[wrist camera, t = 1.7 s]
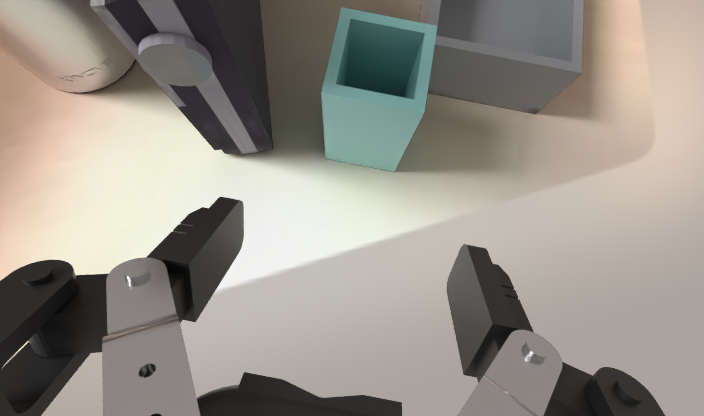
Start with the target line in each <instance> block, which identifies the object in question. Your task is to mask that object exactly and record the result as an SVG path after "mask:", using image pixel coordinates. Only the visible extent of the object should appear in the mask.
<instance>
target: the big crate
mask: <svg viewBox="0 0 704 416" xmlns="http://www.w3.org/2000/svg"><path fill="white" fill-rule="evenodd" d="M583 12H584V0H422V3H421V9H420V15H419V21H418V22H420V23H425V24H430V25H435V26H437V33H436V39H435V46H434V53H433V59H432V66H431V73H430V79H429V86H428V93H432V94H437V95H442V96H447V97H452V98H457V99H462V100H467V101H472V102H477V103H483V104H488V105H493V106H498V107H503V108H508V109H513V110H518V111H523V112H528V113H533V114H536V113H537V112H538V111H539V110H540V109H541V108H543V107H544V106H545V105H546V104H547V103H548V102H549V101H551V100H552V99H553V98H554V97H555V96H556V95H558V94H559V93H560V92H561V91H562V90H563V89H564V88H566V87H567V86H568V85H569V84H570V83H571V82H572V81H574V80H575V79H576V78H577V77H578V76H579V75H580V74H582V52H583Z"/></svg>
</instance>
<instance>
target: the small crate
mask: <svg viewBox="0 0 704 416" xmlns="http://www.w3.org/2000/svg"><path fill="white" fill-rule="evenodd" d="M436 33H437V26H435V25H430V24H425V23H420V22H415V21H410V20H405V19H400V18H395V17H390V16H385V15H380V14H375V13H370V12H364V11H359V10H354V9H349V8H344V7H341V10H340V15H339V19H338V23H337V27H336V31H335V36H334V40H333V44H332V48H331V53H330V57H329V61H328V65H327V70H326V74H325V78H324V82H323V86H322V91H321V99H322V113H323V128H324V142H325V157H326V159H331V160H336V161H341V162H346V163H351V164H356V165H361V166H366V167H372V168H377V169H382V170H387V171H392V172H394V171H395V169H396V167H397V166H398V164H399V162H400V160H401V158H402V156H403V154H404V152H405V150H406V148H407V146H408V144H409V142H410V140H411V138H412V136H413V134H414V132H415V130H416V128H417V126H418V124H419V123H420V121H421V119H422V117H423V115H424V113H425V106H426V99H427V93H428V86H429V79H430V73H431V66H432V59H433V53H434V46H435V39H436Z"/></svg>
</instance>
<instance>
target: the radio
mask: <svg viewBox="0 0 704 416" xmlns="http://www.w3.org/2000/svg"><path fill="white" fill-rule="evenodd" d="M90 7H91V8H92V9H93V10H94V11H95V12H96V13H97V15H98V16H99V17H100V18H101V19H102V20H103V22H104V23H105V24H106V25H107V26H108V27H109V28H110V30H111V31H112V32H113V33H114V34H115V35H116V37H117V38H118V39H119V40H120V41H121V42H122V44H123V45H124V46H125V47H126V48H127V49H128V50H129V52H130V53H131V54H132V55H133V56H134V57H135V59H136V60H137V61H138V62H139V64H140V66H141V67H142V69H143V70H144V71H145V72H146V73H147V74H148V75H149V76H151V77H152V78H153V79H154V80H155V82H156V83H157V84H158V85H159V86H160V87H161V89H162V90H163V91H164V92H165V93H166V94H167V95H168V97H169V98H170V99H171V100H172V101H173V102H174V104H175V105H176V106H177V107H178V108H179V109H180V110H181V112H182V113H183V114H184V115H185V116H186V117H187V119H188V120H189V121H190V122H191V123H192V124H193V125H194V127H195V128H196V129H197V130H198V131H199V132H200V134H201V135H202V136H203V137H204V138H205V139H206V141H207V142H208V143H209V144H210V145H211V146H212V147H213V149H214V150H220V149H222V151H223V152H224V153H225V154H246V153H255V152H261V151H265V150H269V149H273V142H272V131H271V120H270V109H269V98H268V88H267V77H266V66H265V55H264V44H263V34H262V23H261V12H260V1H259V0H91V1H90Z"/></svg>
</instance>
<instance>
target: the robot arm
mask: <svg viewBox="0 0 704 416" xmlns="http://www.w3.org/2000/svg"><path fill="white" fill-rule="evenodd" d="M90 1H91V0H0V51H1V52H3V53H4V54H6V55H7V56H9V57H10V58H11V59H13V60H14V61H16V62H17V63H18V64H20V65H21V66H23V67H24V68H25V69H27V70H28V71H30V72H31V73H32V74H34V75H35V76H37V77H38V78H39V79H41V80H42V81H44V82H45V83H47V84H48V85H50V86H52V87H54V88H56V89H58V90H63V91H67V92H80V93H81V92H88V91H94V90H97V89H100V88H103V87H106V86H107V85H109V84H111V83H113V82H115V81H116V80H118V79H119V78H120V77H121V76H123V75H124V74H125V73H126V72H127V70H128V69H129V68H130V67H131V66H132V64H133V62H134V60H135V57H134V56H133V55H132V54H131V53H130V52H129V50H128V49H127V48H126V47H125V46H124V45H123V44H122V42H121V41H120V40H119V39H118V38H117V37H116V35H115V34H114V33H113V32H112V31H111V30H110V28H109V27H108V26H107V25H106V24H105V23H104V22H103V20H102V19H101V18H100V17H99V16H98V15H97V13H96V12H95V11H94V10H93V9H92V8H91V7H90ZM243 236H244V220H243V202H242V201H240V200H235V199H230V198H225V197H219V198H218V199H217V200H216V201H215V202H214V204H213V205H212V206H211V207H210V208H209V209H208V208H203V207H202V208H200V209H198V210H196V211H194V212H192V213H190V214H189V215H188V216H187V217H186V218H185V219H184V220H183V221H182V222H181V224H180V225H178V226H177V227H176V228H175V229H174V230H173V232H171V233H170V234H169V235H168V236H167V237H166V238H165V239H164V240H163V241H162V242H161V243H160V244H159V245H158V246H157V247H156V248H155V249H154V250H153V251H152V252H151V253H150V254H149V255H148V256H147V257H146V258H137V259H132V260H129V261H126V262H124V263H122V264H120V265H118V266H116V267H115V268H114V269H113V270H112V271H111V272H110V273H109V274H96V275H75V273H74V270H73V267H72V266H71V264H69V263H68V262H65V261H61V260H45V261H39V262H35V263H31V264H28V265H26V266H23V267H21V268H19V269H17V270H15V271H14V272H12V273H11V274H9V275H8V276H7V277H5V278H4V279H3V280H1V281H0V416H41V415H42V414H43V412H44V411H45V410H46V408H47V407H48V406H49V405H50V403H51V402H52V401H53V400H54V398H55V397H56V396H57V395H58V393H59V392H60V391H61V390H62V388H63V387H64V386H65V384H66V383H67V382H68V381H69V379H70V378H71V377H72V376H73V374H74V373H75V372H76V371H77V370H78V368H79V367H80V366H81V365H82V363H83V362H84V361H85V359H86V358H87V357H88V356H89V354H90V353H96V352H102V355H103V356H102V359H103V360H102V364H103V416H402V403H401V402H396V401H391V400H386V399H381V398H375V397H370V396H365V395H358V396H344V397H331V398H321V397H317V396H315V395H313V394H311V393H309V392H307V391H305V390H303V389H301V388H299V387H297V386H295V385H293V384H291V383H289V382H287V381H285V380H282V379H277V378H272V377H266V376H261V375H256V374H251V373H246V372H244V374H243V377H242V379H241V382H240V384H239V385H233V386H228V387H223V388H219V389H216V390H213V391H211V392H208V393H206V394H204V395H201V396H200V397H198V398H196V394H195V389H194V385H193V380H192V376H191V371H190V367H189V362H188V358H187V354H186V349H185V345H184V340H183V335H182V331H181V327H180V323H181V321H182V320H187V321H192V322H196V320H197V319H198V317H199V316H200V314H201V312H202V311H203V309H204V308H205V306H206V304H207V303H208V301H209V300H210V298H211V296H212V295H213V293H214V292H215V290H216V288H217V287H218V285H219V284H220V282H221V280H222V279H223V277H224V276H225V274H226V272H227V271H228V269H229V268H230V266H231V264H232V263H233V261H234V260H235V258H236V256H237V255H238V253H239V251H240V249H241V246H242V243H243ZM447 295H448V300H449V305H450V310H451V315H452V320H453V325H454V330H455V334H456V339H457V344H458V349H459V354H460V359H461V364H462V369H463V374H464V375H467V376H472V377H477V379H478V385H477V386H476V388H475V389H474V391H473V393H472V394H471V396H470V397H469V399H468V400H467V402H466V403H465V405H464V406H463V408H462V410H461V411H460V413H459V415H458V416H665V415H664V413H663V411H662V410H661V408H660V407H659V405H658V403H657V402H656V400H655V399H654V397H653V396H652V395H651V393H650V392H649V391H648V390H647V389H646V388H645V387H644V386H643V385H642V384H641V383H640V382H638V381H637V380H636V379H634V378H633V377H631V376H630V375H628V374H626V373H624V372H623V371H620V370H618V369H615V368H610V367H603V368H601V369H599V370H598V371H597V372H596V373H595V374H594V375H593V376H592V375H590V374H588V373H585V372H583V371H581V370H579V369H576V368H574V367H572V366H570V365H568V364H566V363H564V362H562V359H561V357H560V355H559V353H558V352H557V350H556V349H555V348H554V347H553V346H552V345H551V344H550V343H549V342H548V341H547V340H546V339H544V338H543V337H541V336H539V335H538V334H535V333H534V332H533V330H532V327H531V325H530V323H529V320H528V318H527V316H526V314H525V312H524V309H523V307H522V305H521V303H520V300H518V296H517V294H516V291H515V290H514V287H513V285H512V283H511V280H510V278H509V276H508V275H507V274H506V273H505V272H504V271H503V270H502V268H501V267H500V266H499V265H496V264H492V261H491V259H490V256H489V254H488V251H487V250H486V249H485V248H481V247H476V246H471V245H465V244H464V245H463V246H462V247H461V249H460V251H459V254H458V256H457V258H456V261H455V263H454V266H453V268H452V270H451V272H450V275H449V278H448V282H447ZM27 341H29V342H28V343H27V344H26V345H25V346H24V347H23V348H22V349H21V350H20V351H19V352H18V353H17V354H16V355H15V356H14V357H13V358H12V359H11V360H10V361H9V362H8V363H7V364H6V365H5V366H4V367H3V365H4V364H5V363H6V362H7V360H9V359H10V358H11V357H12V356H13V355H14V354H15V353H16V352H17V351H18V350H19V349H20V348H21V347H22V346H23V345H24V344H25V343H26V342H27ZM2 367H3V368H2Z"/></svg>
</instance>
